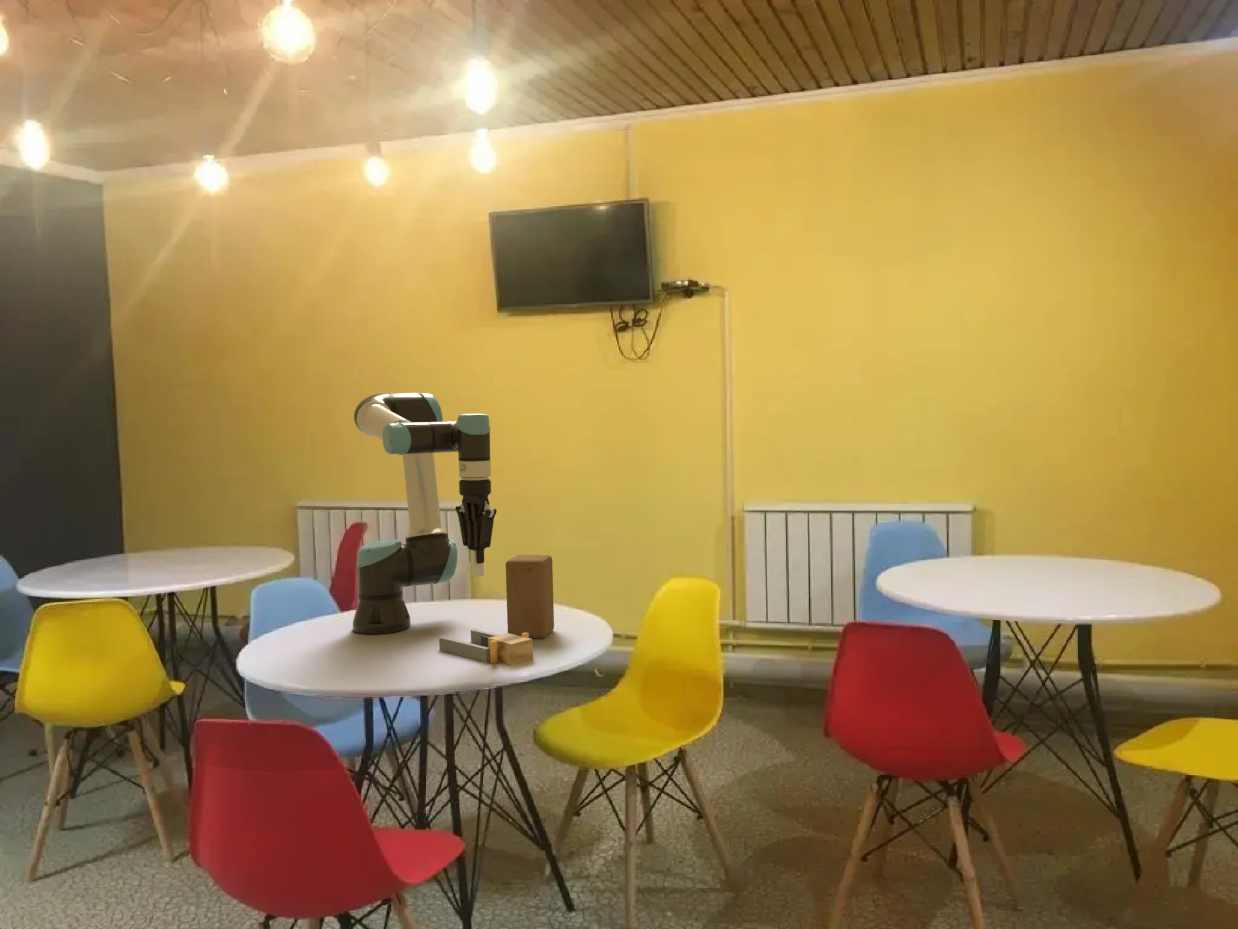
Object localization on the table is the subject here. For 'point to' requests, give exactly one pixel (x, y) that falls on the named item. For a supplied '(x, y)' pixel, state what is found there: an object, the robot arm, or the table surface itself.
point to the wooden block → (530, 595)
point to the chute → (474, 646)
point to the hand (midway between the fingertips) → (477, 576)
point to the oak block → (513, 648)
